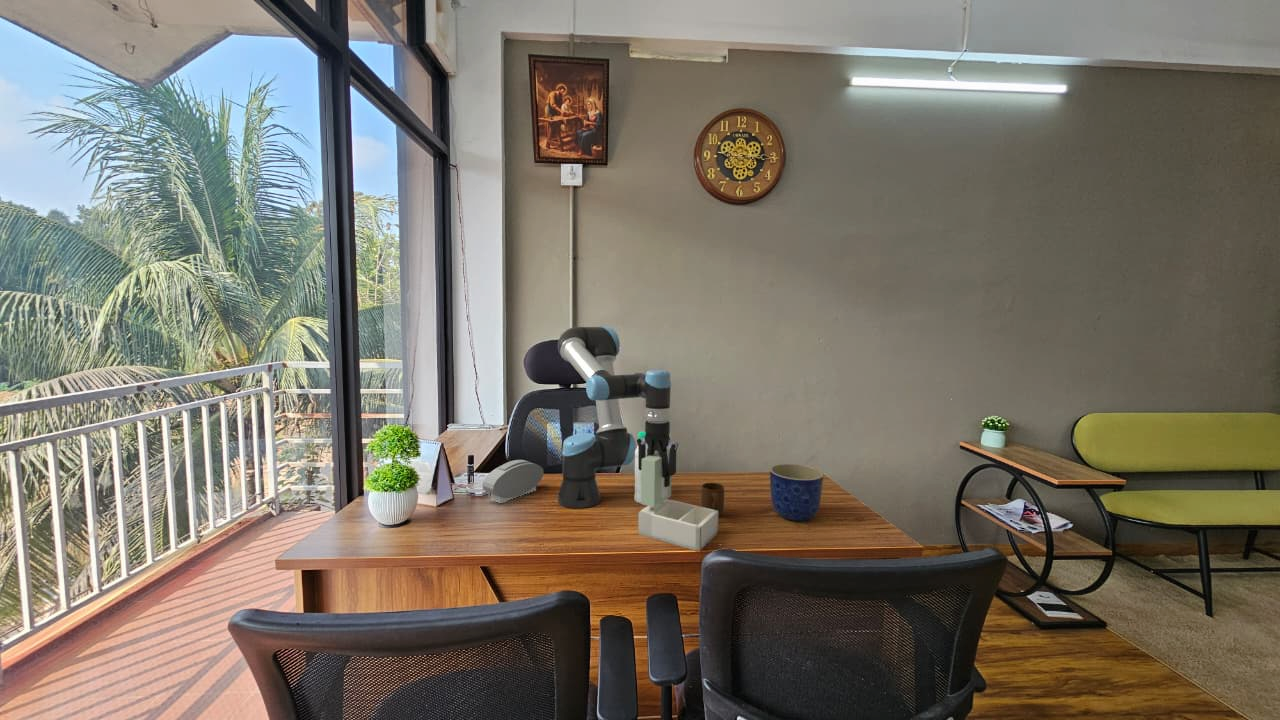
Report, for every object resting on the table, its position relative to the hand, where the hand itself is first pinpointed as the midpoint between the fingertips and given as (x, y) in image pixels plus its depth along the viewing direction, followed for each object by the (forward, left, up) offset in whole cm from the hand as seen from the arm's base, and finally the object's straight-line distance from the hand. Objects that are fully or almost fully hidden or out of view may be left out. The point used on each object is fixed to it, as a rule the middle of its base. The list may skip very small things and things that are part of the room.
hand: (656, 494), depth 147 cm
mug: (+12, +18, -11) cm, 24 cm away
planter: (+35, +33, -11) cm, 49 cm away
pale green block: (0, 0, -2) cm, 2 cm away
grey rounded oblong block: (-57, -4, -11) cm, 59 cm away
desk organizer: (+8, 0, -11) cm, 13 cm away
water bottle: (-14, +17, -11) cm, 25 cm away
